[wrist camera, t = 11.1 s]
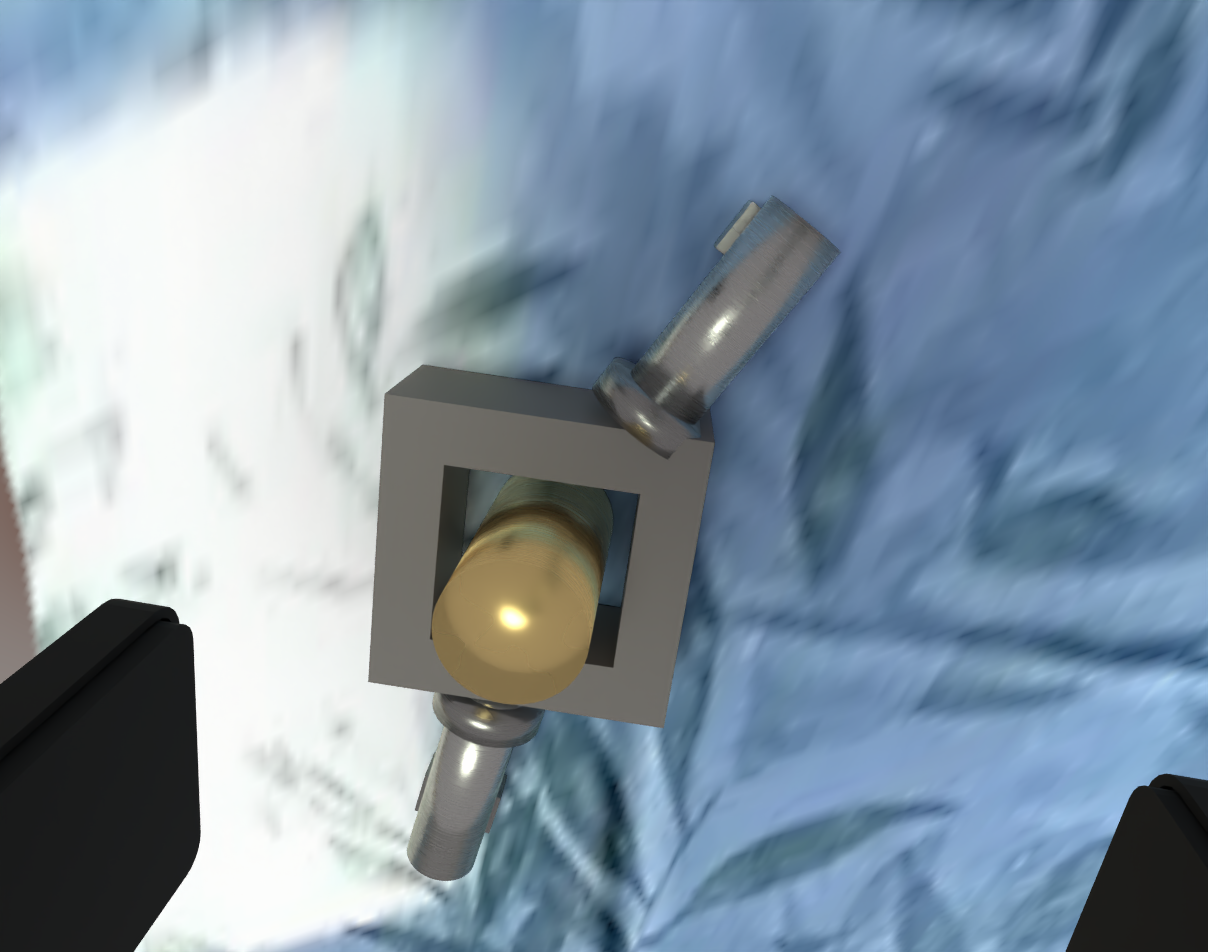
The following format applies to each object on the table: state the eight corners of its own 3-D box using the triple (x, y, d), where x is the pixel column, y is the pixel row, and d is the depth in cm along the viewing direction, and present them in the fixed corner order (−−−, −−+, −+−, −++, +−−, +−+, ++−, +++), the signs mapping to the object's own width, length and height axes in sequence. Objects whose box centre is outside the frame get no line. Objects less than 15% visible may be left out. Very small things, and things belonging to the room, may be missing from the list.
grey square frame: (709, 407, 29) (715, 442, 25) (664, 662, 32) (663, 728, 28) (422, 364, 29) (384, 393, 25) (404, 621, 32) (368, 682, 28)
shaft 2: (686, 439, 29) (688, 483, 25) (597, 370, 29) (584, 403, 25) (840, 257, 27) (869, 273, 23) (747, 180, 27) (760, 182, 23)
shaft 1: (459, 630, 32) (428, 697, 28) (557, 661, 32) (540, 732, 28) (411, 792, 34) (376, 876, 30) (502, 821, 35) (480, 908, 30)
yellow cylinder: (620, 471, 30) (599, 574, 22) (605, 582, 31) (579, 715, 24) (499, 454, 30) (437, 550, 22) (489, 565, 31) (426, 691, 24)
